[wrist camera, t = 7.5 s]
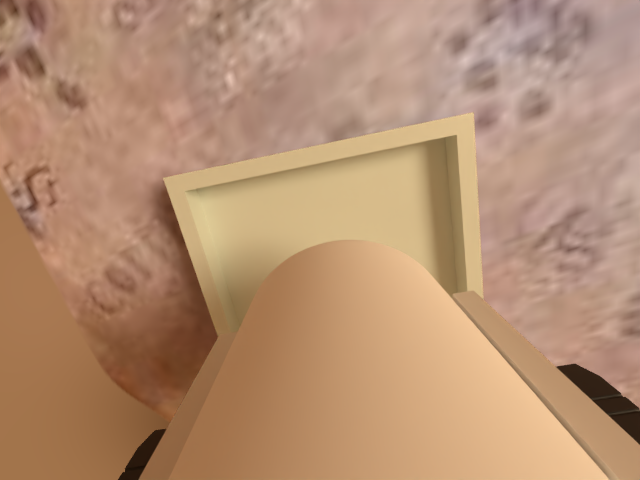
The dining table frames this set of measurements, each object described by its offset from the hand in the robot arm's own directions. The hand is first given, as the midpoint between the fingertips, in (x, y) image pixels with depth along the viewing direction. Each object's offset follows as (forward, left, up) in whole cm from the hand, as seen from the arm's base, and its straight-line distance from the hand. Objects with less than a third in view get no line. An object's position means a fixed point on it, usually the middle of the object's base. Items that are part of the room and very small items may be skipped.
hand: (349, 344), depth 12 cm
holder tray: (0, 0, -7) cm, 7 cm away
